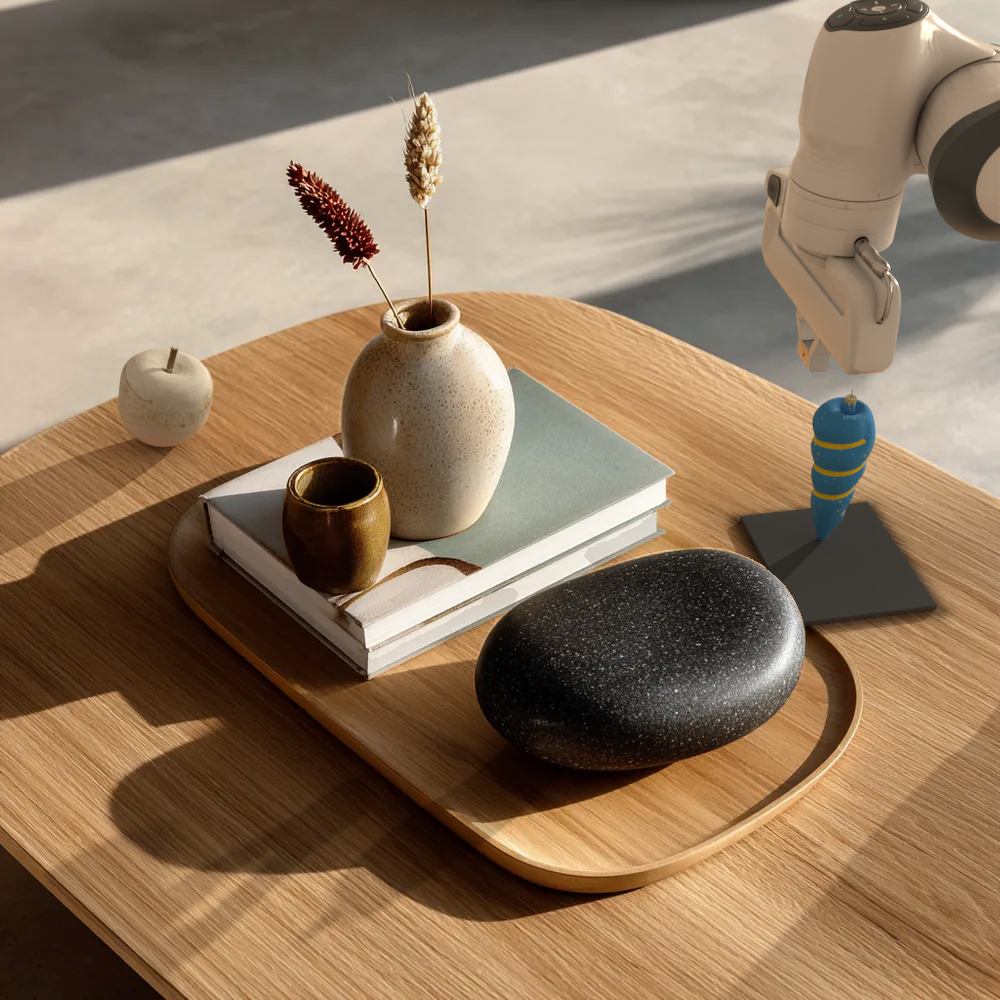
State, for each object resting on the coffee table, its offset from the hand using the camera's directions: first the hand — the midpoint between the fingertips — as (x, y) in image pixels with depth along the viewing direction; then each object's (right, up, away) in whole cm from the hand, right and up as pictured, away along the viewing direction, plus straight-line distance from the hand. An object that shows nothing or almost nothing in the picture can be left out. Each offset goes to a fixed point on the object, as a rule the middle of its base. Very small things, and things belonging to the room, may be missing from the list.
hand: (811, 363), depth 113 cm
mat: (+2, -17, 0) cm, 17 cm away
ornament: (+1, -15, +2) cm, 15 cm away
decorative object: (-57, -6, +13) cm, 59 cm away
